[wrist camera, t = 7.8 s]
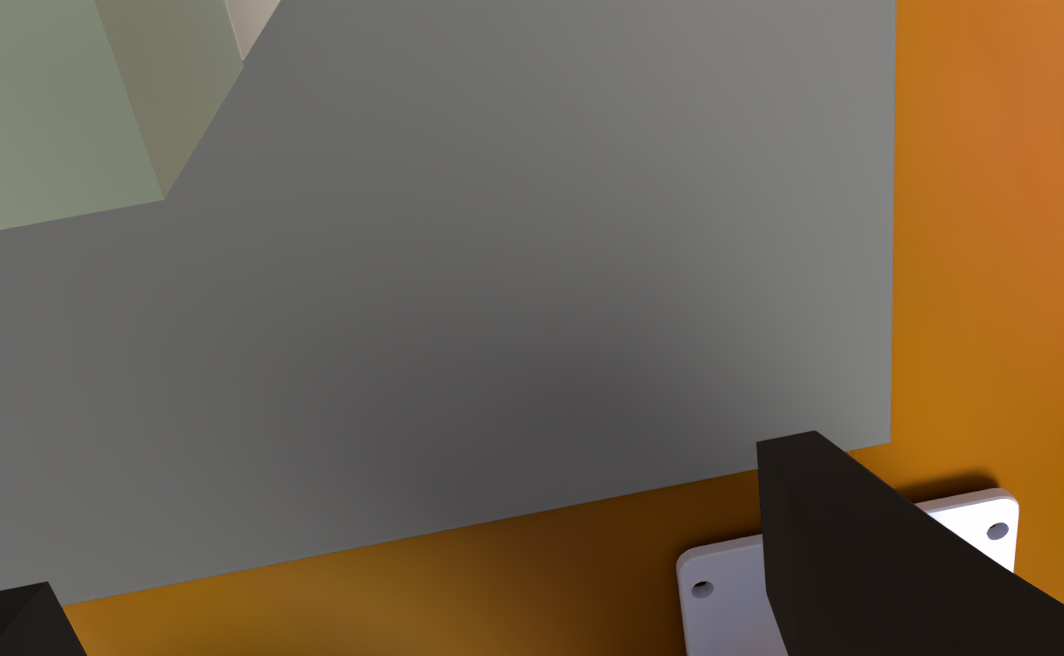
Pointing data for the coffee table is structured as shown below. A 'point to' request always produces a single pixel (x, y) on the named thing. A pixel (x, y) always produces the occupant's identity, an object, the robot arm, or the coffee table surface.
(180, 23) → the sage brick
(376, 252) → the mat
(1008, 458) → the coffee table surface
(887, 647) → the robot arm
